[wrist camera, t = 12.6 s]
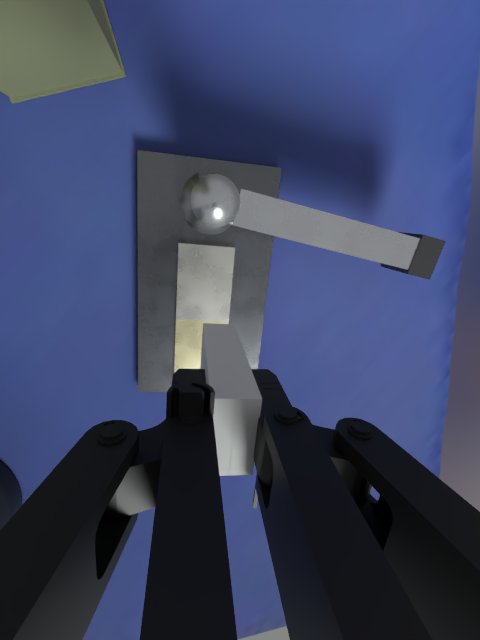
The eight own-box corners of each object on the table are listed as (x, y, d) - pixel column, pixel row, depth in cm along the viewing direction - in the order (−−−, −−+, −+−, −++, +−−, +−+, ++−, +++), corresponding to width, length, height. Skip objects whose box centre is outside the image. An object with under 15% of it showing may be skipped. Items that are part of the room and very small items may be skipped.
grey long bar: (187, 218, 27) (186, 220, 21) (195, 177, 26) (195, 167, 20) (389, 268, 31) (433, 282, 25) (401, 234, 30) (451, 240, 24)
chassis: (139, 386, 34) (136, 398, 32) (139, 151, 27) (134, 146, 25) (253, 387, 36) (256, 398, 33) (278, 169, 29) (285, 166, 27)
